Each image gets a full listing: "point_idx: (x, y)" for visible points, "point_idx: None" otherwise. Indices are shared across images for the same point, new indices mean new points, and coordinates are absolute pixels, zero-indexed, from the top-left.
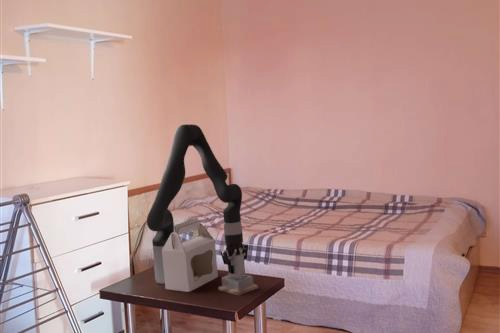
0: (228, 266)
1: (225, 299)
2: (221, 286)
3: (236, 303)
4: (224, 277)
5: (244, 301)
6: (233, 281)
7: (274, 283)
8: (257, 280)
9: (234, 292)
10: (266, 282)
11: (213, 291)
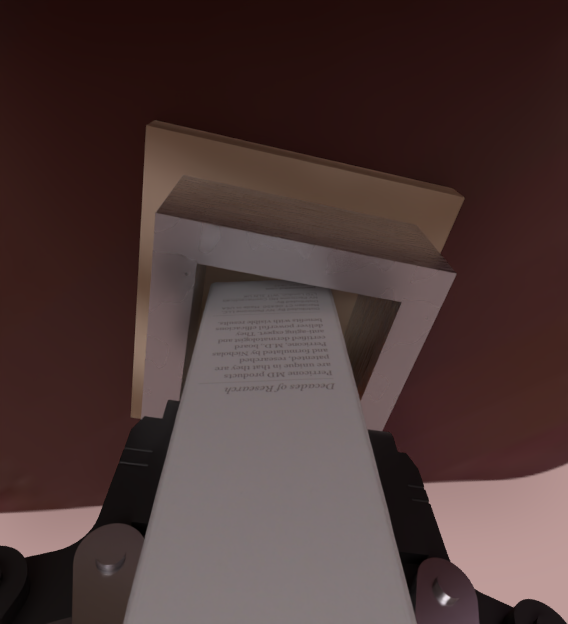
0: (102, 512)
1: (4, 358)
2: (182, 159)
3: (9, 459)
4: (175, 258)
5: (73, 479)
6: (144, 411)
7: (478, 470)
8: (545, 335)
9: (135, 369)
10: (495, 419)
11: (77, 99)
